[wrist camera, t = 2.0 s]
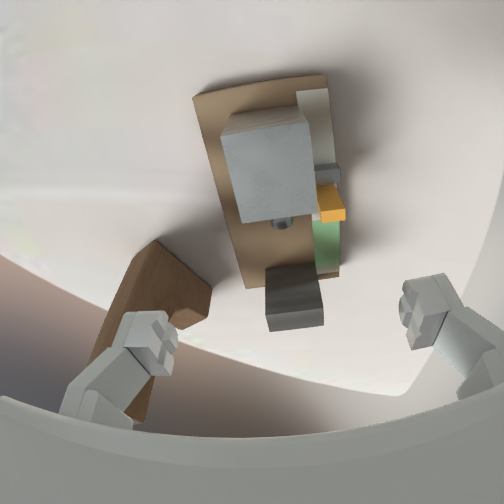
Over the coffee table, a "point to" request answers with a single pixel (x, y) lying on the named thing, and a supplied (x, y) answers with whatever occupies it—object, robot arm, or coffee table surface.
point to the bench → (261, 232)
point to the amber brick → (330, 204)
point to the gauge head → (274, 165)
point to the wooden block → (154, 305)
